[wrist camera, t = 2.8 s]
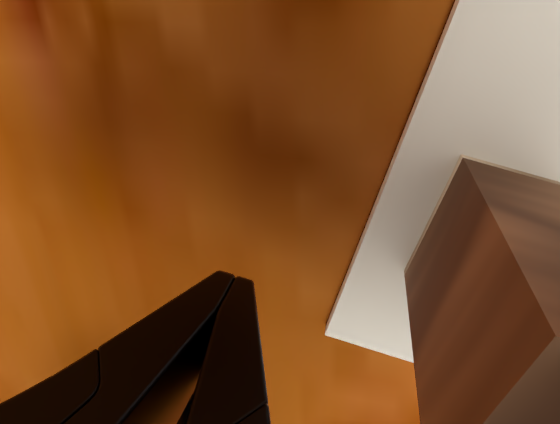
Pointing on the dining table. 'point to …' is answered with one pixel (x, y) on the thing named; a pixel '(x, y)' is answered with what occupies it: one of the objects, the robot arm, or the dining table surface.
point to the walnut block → (488, 299)
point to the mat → (455, 150)
